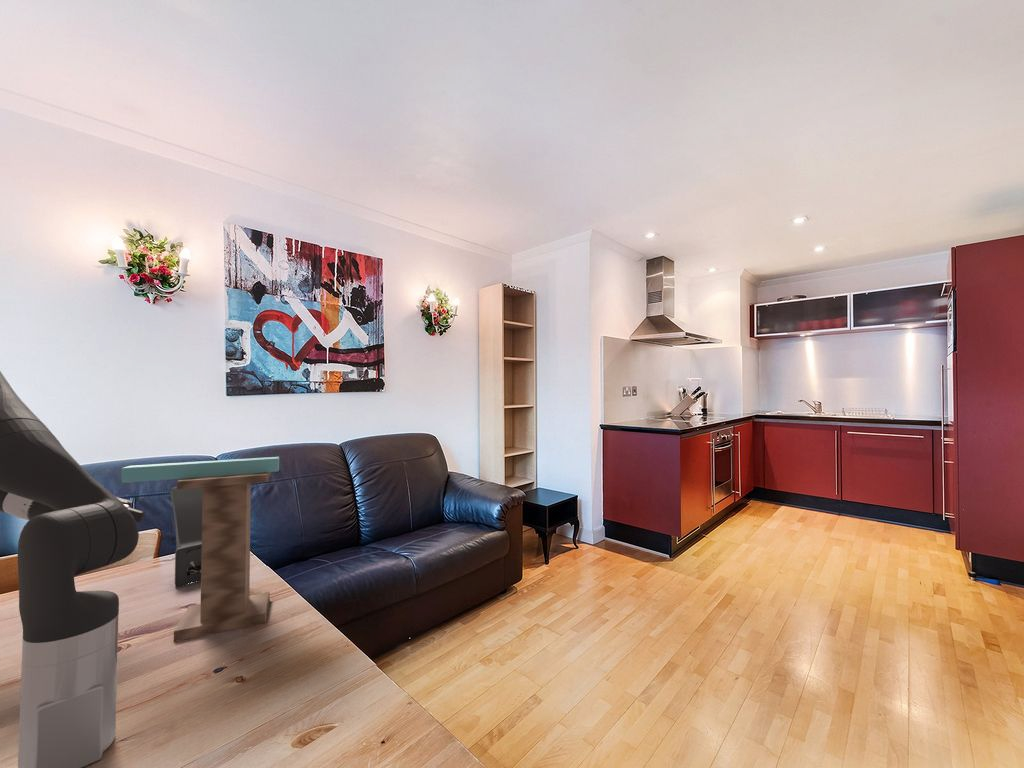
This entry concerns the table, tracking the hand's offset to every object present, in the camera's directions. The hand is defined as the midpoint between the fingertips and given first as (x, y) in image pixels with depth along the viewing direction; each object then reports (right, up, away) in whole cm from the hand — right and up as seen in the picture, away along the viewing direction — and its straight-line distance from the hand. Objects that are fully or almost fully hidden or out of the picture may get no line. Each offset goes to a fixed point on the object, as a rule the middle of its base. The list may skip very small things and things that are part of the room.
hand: (127, 525), depth 90 cm
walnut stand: (+17, -22, +5) cm, 29 cm away
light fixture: (-10, -24, +31) cm, 41 cm away
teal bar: (+13, +10, +5) cm, 17 cm away
